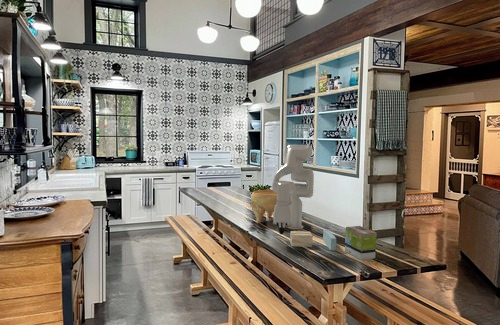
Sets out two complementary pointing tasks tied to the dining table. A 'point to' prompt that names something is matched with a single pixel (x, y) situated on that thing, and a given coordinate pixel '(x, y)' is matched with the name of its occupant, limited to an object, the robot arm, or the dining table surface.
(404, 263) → the dining table surface
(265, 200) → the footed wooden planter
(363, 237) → the tea box
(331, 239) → the board
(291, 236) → the maple brick
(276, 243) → the dining table surface
